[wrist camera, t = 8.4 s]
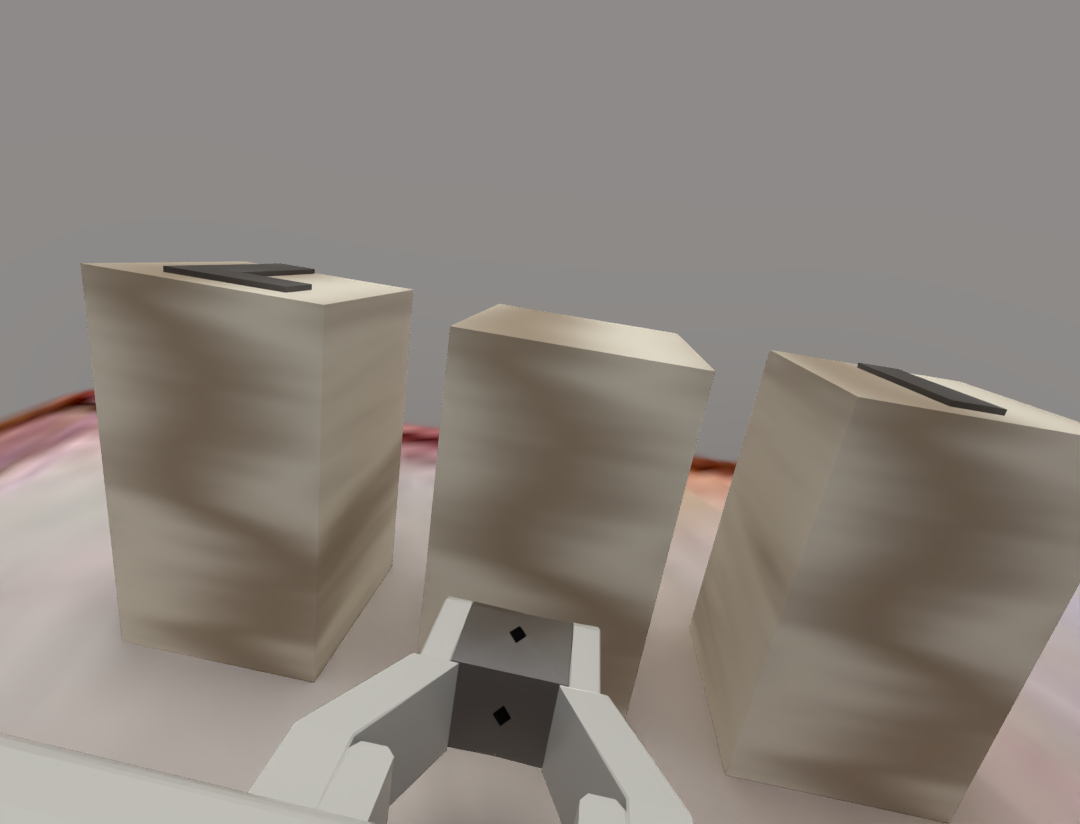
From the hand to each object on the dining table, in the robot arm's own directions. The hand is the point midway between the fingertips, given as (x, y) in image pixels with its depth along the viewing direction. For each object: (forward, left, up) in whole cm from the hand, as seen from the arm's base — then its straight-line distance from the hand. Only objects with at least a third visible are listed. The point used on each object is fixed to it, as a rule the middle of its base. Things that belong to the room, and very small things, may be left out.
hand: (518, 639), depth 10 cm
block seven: (+6, -9, -6) cm, 12 cm away
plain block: (-2, -6, -6) cm, 8 cm away
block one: (-11, -3, -6) cm, 12 cm away
